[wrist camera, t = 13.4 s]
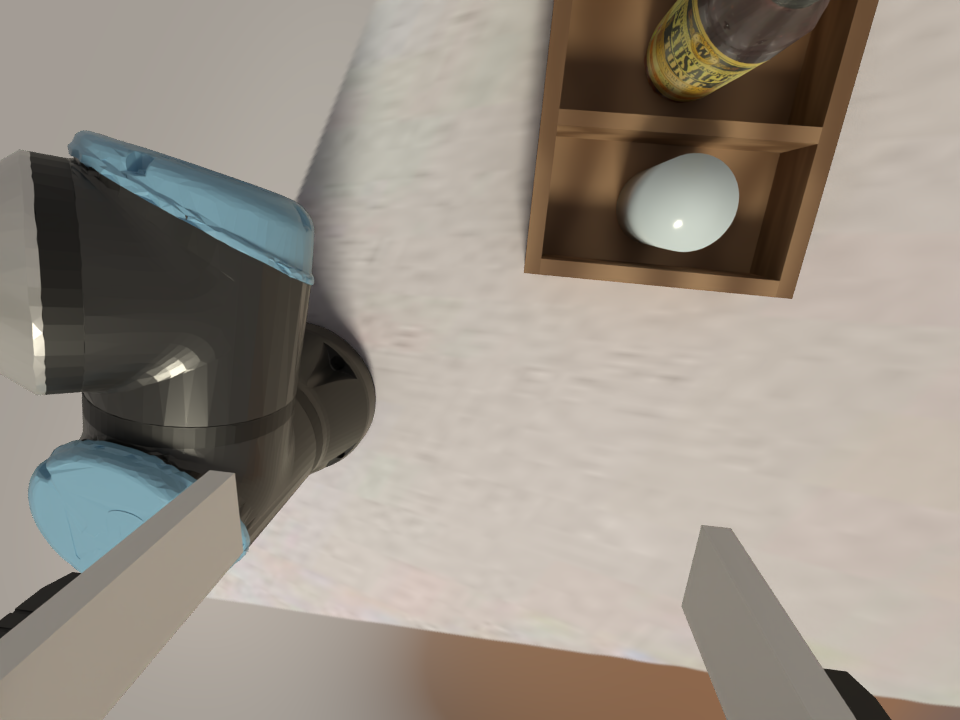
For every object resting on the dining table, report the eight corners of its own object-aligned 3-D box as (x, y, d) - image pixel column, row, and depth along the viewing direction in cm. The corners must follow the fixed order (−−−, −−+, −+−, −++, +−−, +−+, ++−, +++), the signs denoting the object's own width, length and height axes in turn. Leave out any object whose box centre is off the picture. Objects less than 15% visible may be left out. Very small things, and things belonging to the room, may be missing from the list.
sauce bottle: (623, 63, 35) (730, -112, 17) (691, -9, 34) (897, -295, 15) (678, 128, 36) (839, 34, 17) (747, 62, 35) (1008, -123, 16)
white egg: (610, 240, 39) (633, 247, 31) (623, 164, 38) (650, 149, 29) (682, 247, 39) (726, 256, 30) (699, 170, 37) (749, 156, 29)
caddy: (524, 265, 42) (523, 272, 36) (557, -30, 35) (562, -78, 29) (754, 287, 40) (791, 298, 34) (834, -16, 34) (897, -64, 28)
